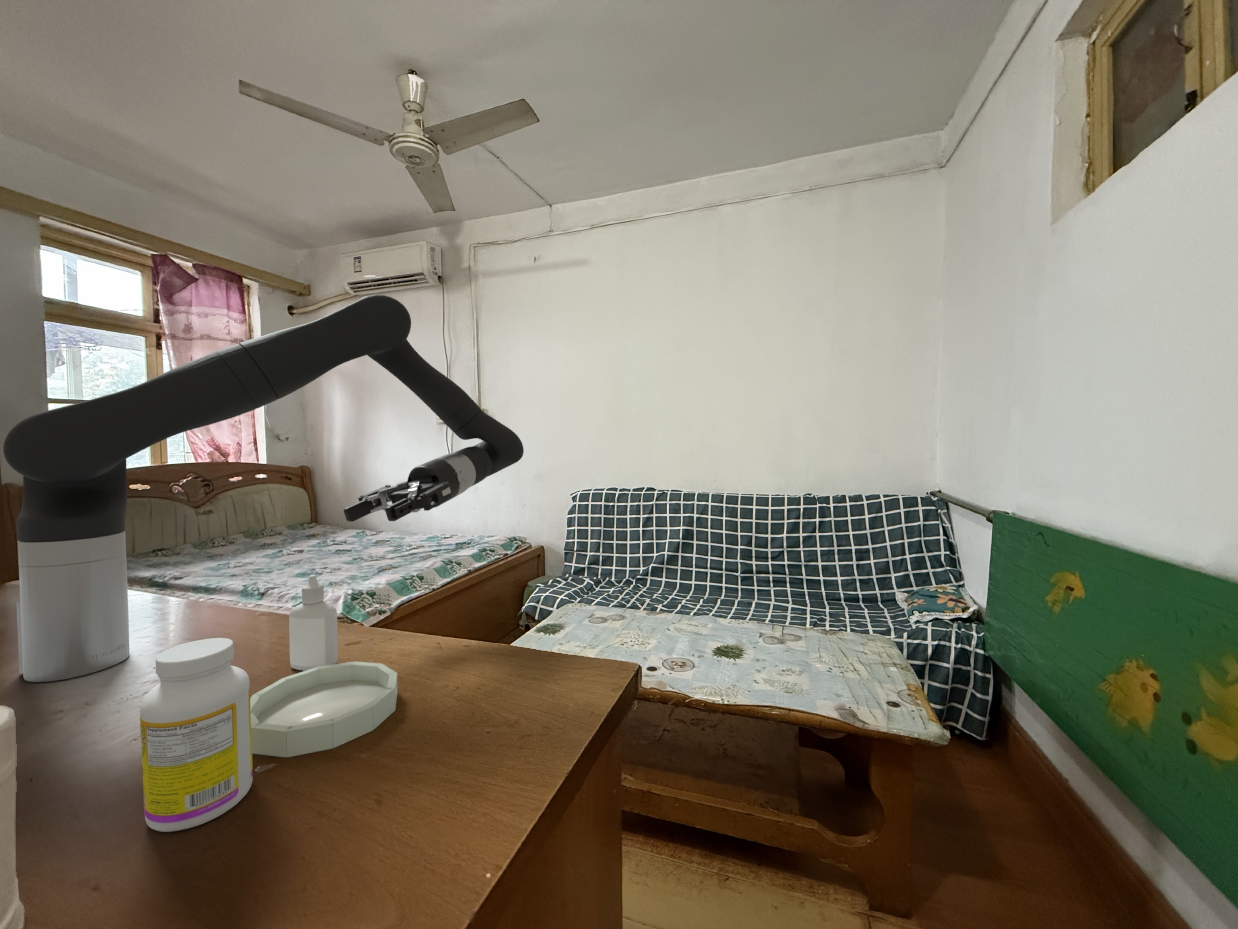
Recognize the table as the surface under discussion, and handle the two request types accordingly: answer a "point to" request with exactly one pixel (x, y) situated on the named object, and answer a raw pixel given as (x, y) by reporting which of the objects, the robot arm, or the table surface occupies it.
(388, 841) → the table surface
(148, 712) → the supplement bottle
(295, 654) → the eye dropper bottle
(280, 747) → the dish
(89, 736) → the table surface
